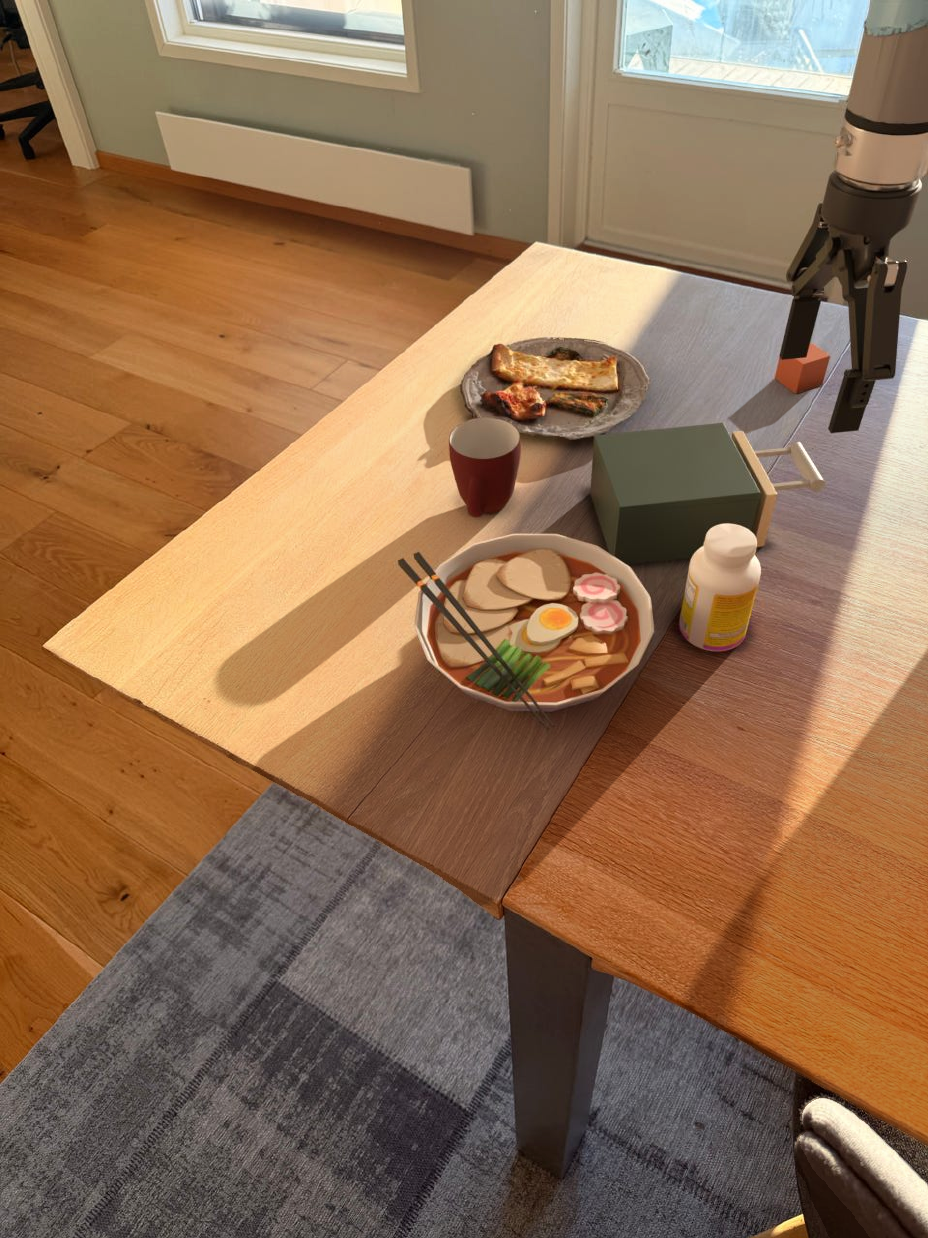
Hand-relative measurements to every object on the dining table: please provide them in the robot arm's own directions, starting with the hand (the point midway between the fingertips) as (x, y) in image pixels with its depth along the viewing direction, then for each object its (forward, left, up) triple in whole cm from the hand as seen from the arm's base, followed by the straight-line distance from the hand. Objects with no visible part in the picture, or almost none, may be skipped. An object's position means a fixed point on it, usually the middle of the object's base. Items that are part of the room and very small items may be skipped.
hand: (816, 391), depth 92 cm
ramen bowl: (-6, +36, -17) cm, 40 cm away
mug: (+17, +30, -17) cm, 38 cm away
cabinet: (+5, +13, -17) cm, 22 cm away
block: (+22, -20, -17) cm, 34 cm away
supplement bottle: (-11, +18, -17) cm, 27 cm away
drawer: (+3, +7, -16) cm, 18 cm away
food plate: (+35, +11, -17) cm, 40 cm away
